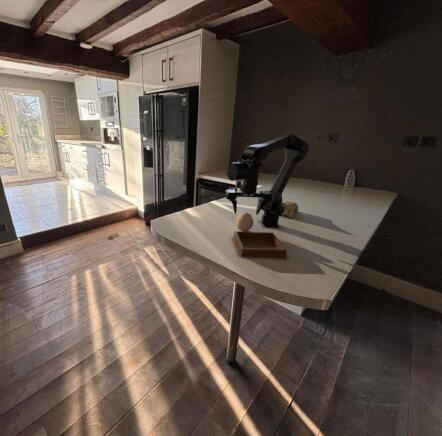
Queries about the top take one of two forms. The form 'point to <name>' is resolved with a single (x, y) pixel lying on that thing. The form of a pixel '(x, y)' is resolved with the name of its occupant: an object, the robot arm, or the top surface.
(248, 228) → the egg
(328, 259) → the top surface
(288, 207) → the fossil
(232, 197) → the robot arm
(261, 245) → the tray
